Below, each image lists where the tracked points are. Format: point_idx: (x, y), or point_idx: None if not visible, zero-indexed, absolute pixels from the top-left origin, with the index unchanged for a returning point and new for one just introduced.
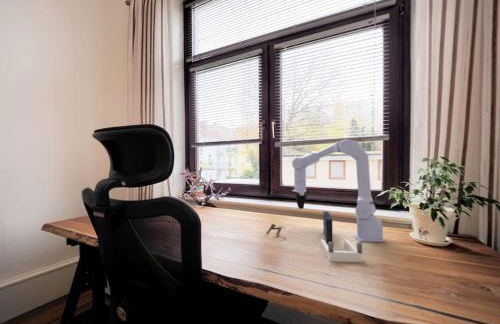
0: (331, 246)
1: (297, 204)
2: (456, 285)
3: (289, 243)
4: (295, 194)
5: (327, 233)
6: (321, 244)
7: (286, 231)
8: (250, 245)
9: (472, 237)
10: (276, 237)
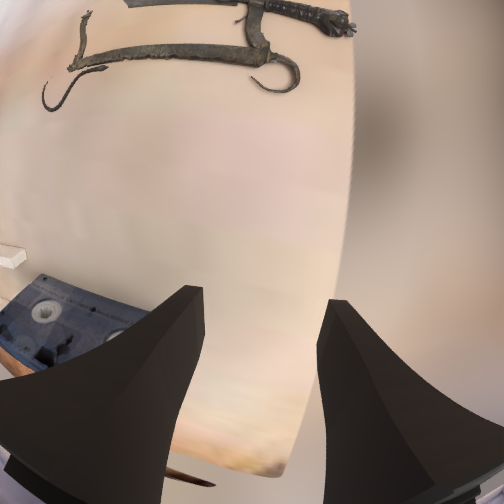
0: None
1: (340, 318)
2: (2, 356)
3: (19, 135)
4: (416, 494)
5: (19, 297)
6: (11, 251)
7: (183, 102)
8: (21, 12)
9: (199, 484)
10: (73, 62)
